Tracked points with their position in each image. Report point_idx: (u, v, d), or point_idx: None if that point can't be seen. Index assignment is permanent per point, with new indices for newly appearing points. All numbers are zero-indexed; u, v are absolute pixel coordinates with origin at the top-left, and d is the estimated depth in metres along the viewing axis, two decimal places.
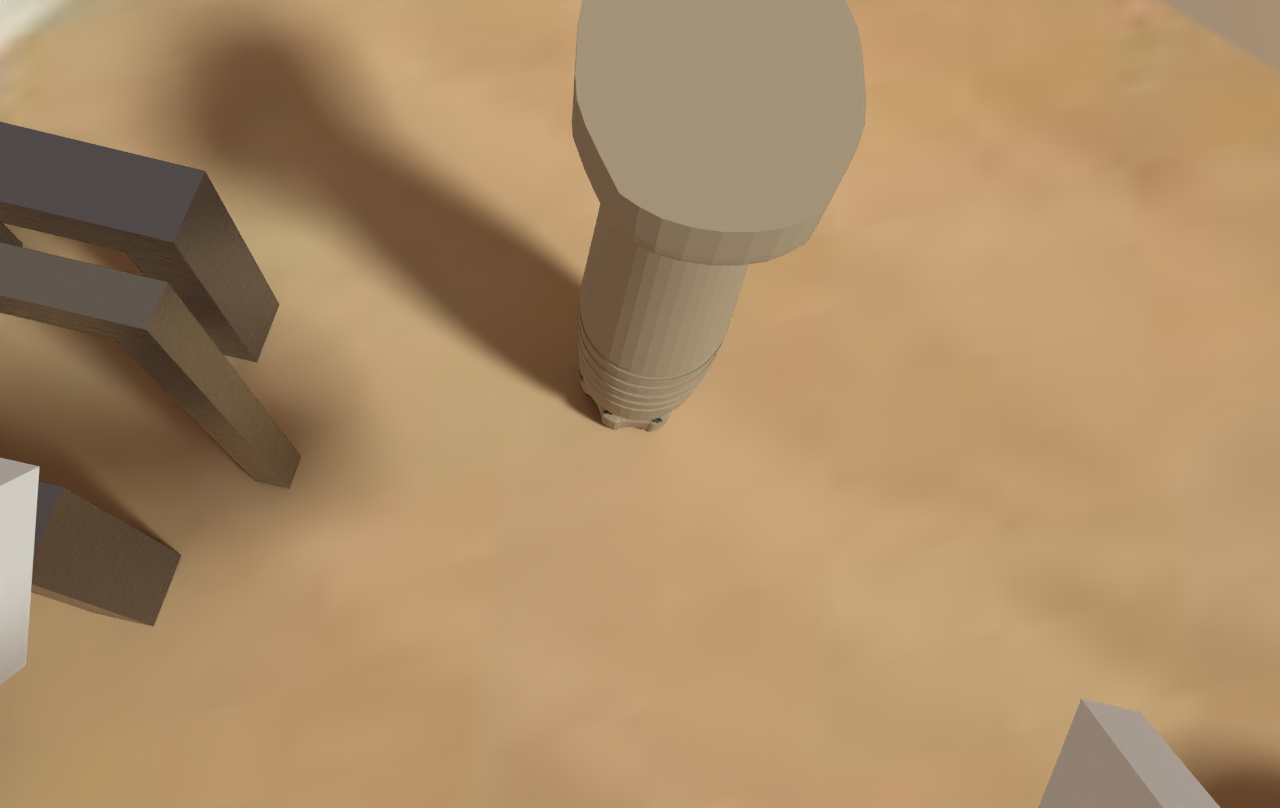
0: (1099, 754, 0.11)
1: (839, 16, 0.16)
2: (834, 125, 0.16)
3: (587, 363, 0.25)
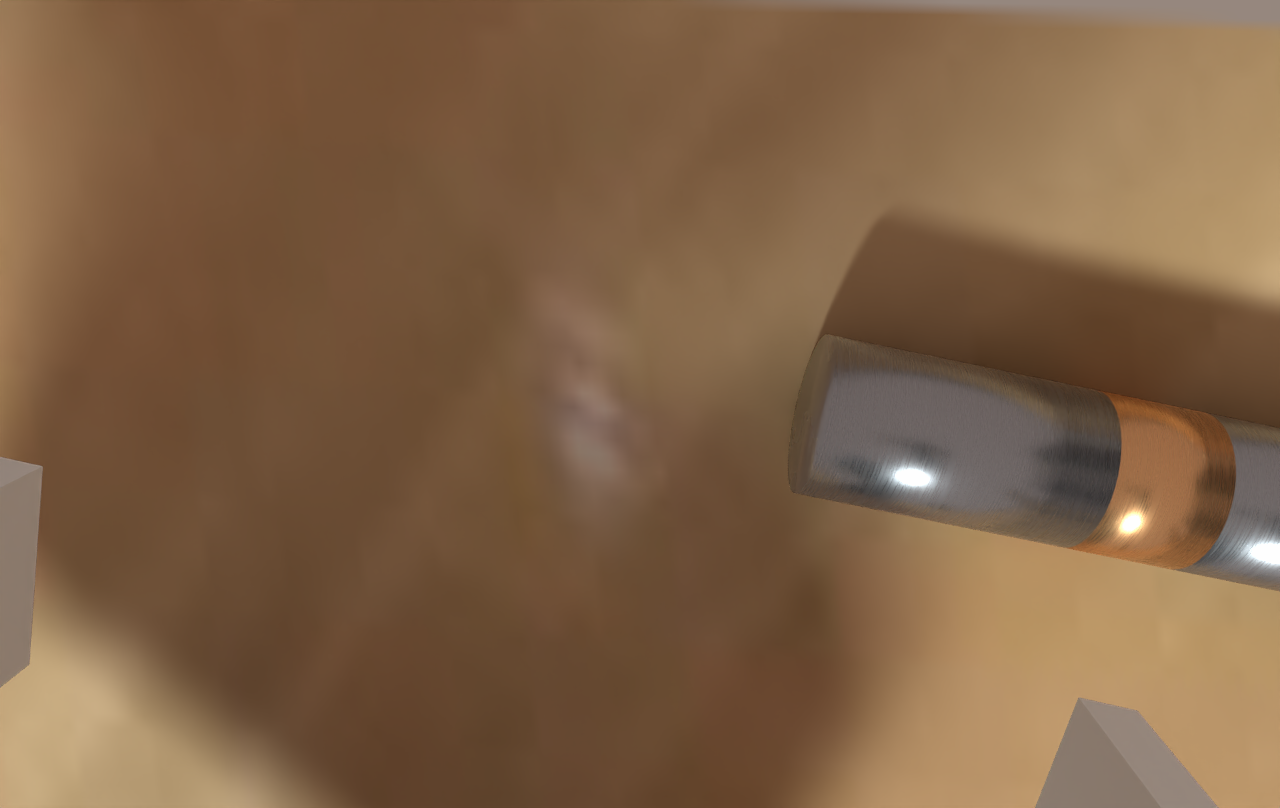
0: (1096, 752, 0.11)
1: None
2: None
3: None
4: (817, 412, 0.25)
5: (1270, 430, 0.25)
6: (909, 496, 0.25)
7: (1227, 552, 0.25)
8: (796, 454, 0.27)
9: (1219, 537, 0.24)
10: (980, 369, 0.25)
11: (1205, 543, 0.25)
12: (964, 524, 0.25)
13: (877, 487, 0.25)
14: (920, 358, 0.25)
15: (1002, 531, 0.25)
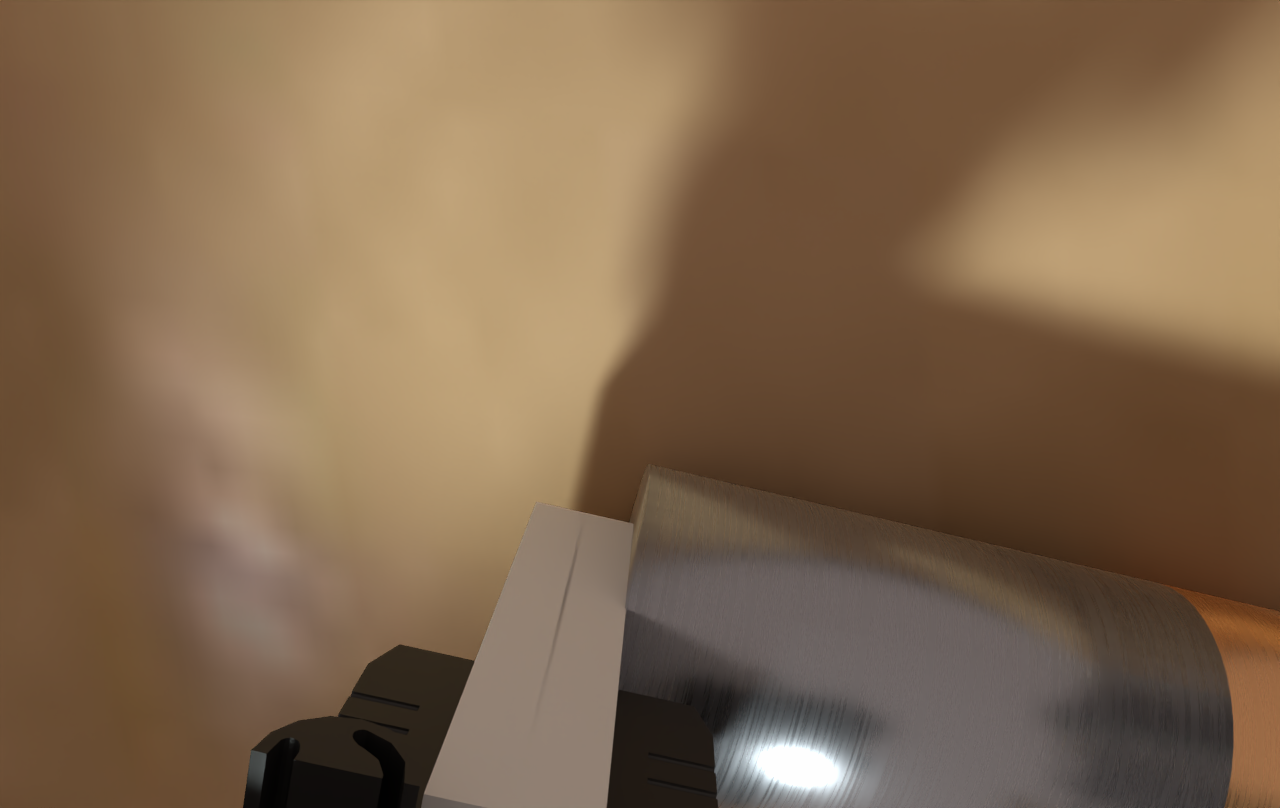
0: None
1: None
2: None
3: None
4: None
5: None
6: None
7: None
8: None
9: None
10: (949, 560, 0.12)
11: None
12: None
13: (718, 806, 0.12)
14: (826, 535, 0.12)
15: None
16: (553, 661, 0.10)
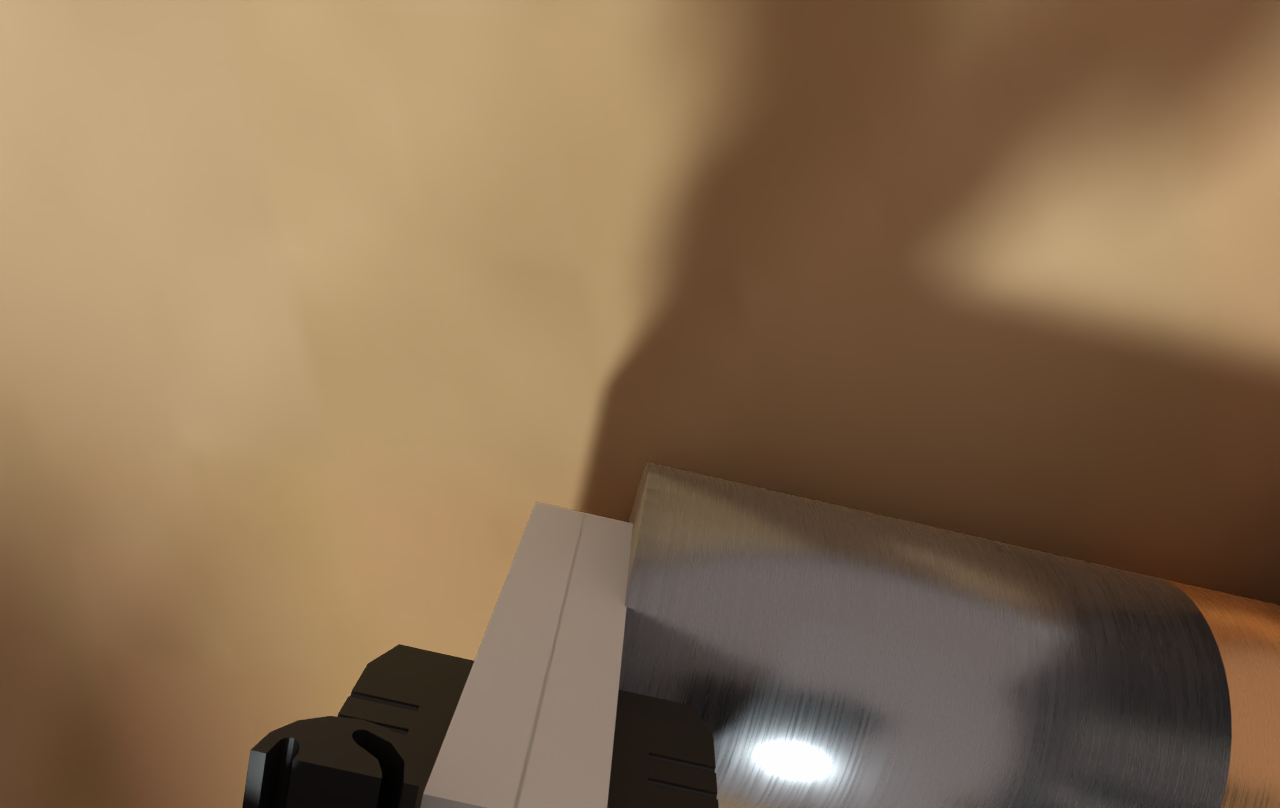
0: None
1: None
2: None
3: None
4: None
5: None
6: None
7: None
8: None
9: None
10: (947, 555, 0.13)
11: None
12: None
13: (719, 801, 0.12)
14: (825, 531, 0.12)
15: None
16: (553, 661, 0.10)
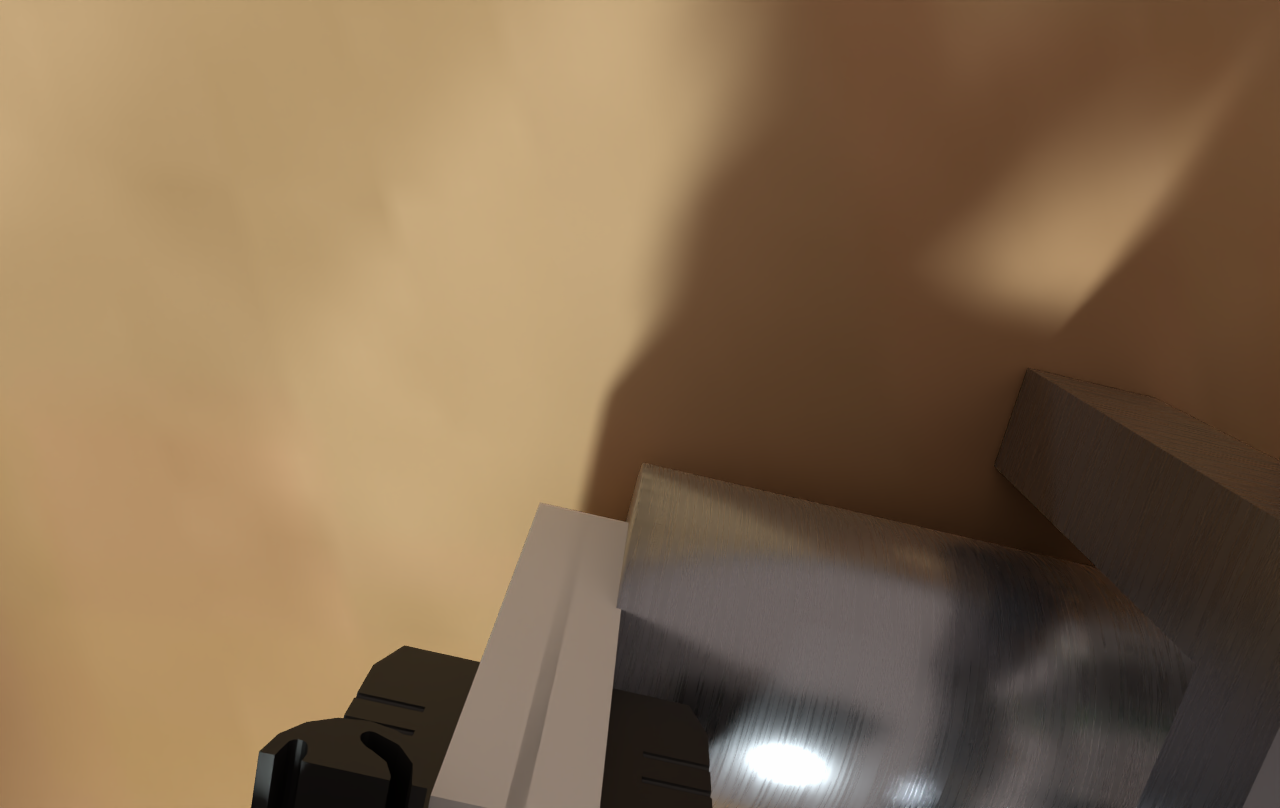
0: None
1: None
2: None
3: None
4: None
5: None
6: None
7: None
8: None
9: None
10: (944, 558, 0.12)
11: None
12: None
13: (712, 805, 0.12)
14: (820, 533, 0.12)
15: None
16: (558, 662, 0.10)
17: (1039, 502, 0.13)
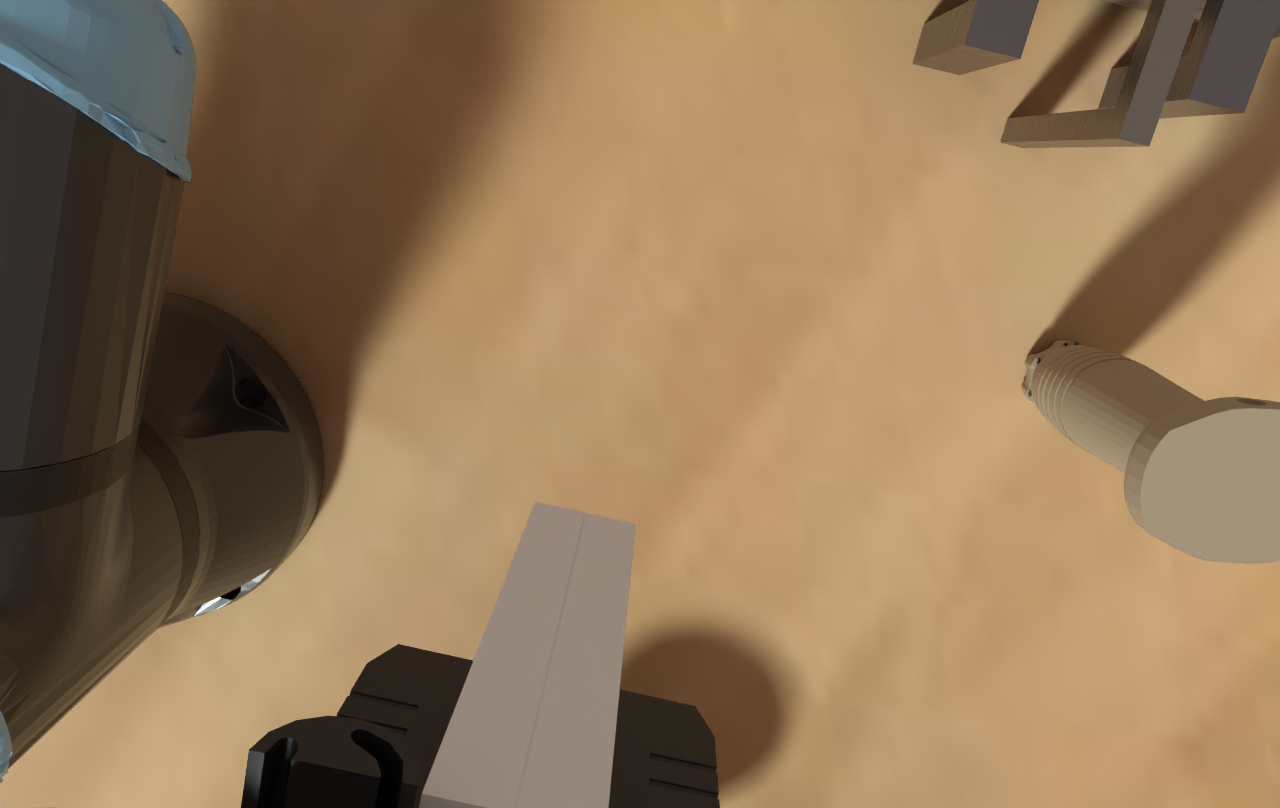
0: None
1: (1277, 553, 0.29)
2: (1203, 544, 0.29)
3: (1075, 358, 0.38)
4: None
5: None
6: None
7: None
8: None
9: None
10: None
11: None
12: None
13: None
14: None
15: None
16: (551, 661, 0.10)
17: None
